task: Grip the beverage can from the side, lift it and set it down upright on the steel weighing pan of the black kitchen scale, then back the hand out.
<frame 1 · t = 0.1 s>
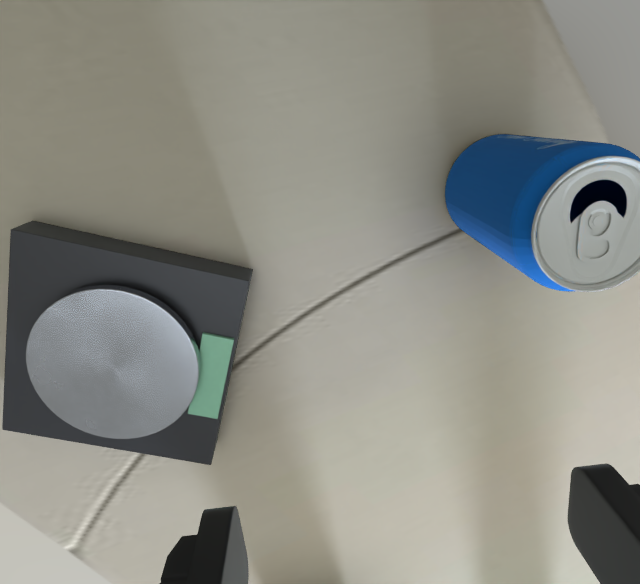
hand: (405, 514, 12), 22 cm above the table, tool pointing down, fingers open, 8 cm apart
scale pan: (115, 365, 31), point 3 cm above the table, slide at 0.0 cm
beverage can: (490, 186, 32), on the table
scale: (132, 341, 34), on the table
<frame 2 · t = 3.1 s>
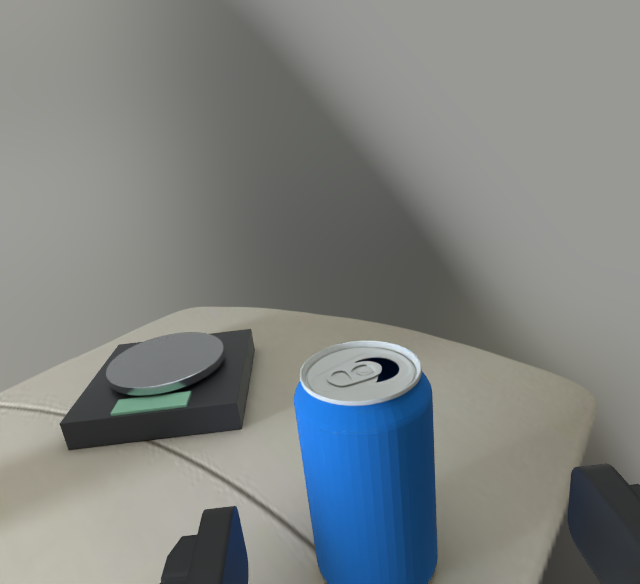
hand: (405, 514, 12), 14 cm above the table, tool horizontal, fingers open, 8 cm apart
scale pan: (167, 360, 45), point 3 cm above the table, slide at 0.0 cm
beverage can: (377, 562, 27), on the table
scale: (174, 392, 46), on the table
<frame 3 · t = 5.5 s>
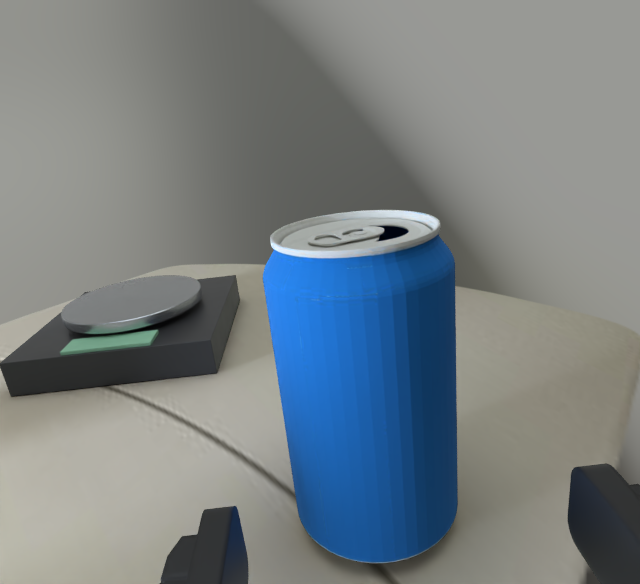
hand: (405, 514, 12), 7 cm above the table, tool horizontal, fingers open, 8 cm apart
scale pan: (134, 301, 39), point 3 cm above the table, slide at 0.0 cm
beverage can: (377, 514, 21), on the table
scale: (144, 340, 40), on the table
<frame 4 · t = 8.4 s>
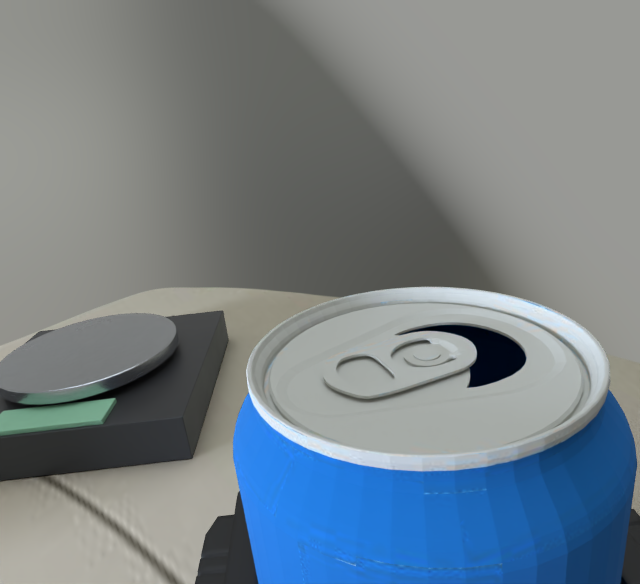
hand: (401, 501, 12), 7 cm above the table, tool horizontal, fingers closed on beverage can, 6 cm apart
scale pan: (91, 352, 30), point 3 cm above the table, slide at 0.0 cm
scale: (105, 399, 32), on the table
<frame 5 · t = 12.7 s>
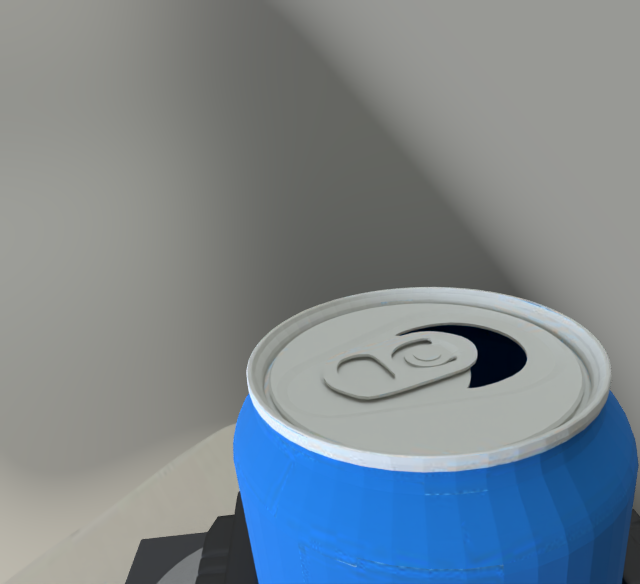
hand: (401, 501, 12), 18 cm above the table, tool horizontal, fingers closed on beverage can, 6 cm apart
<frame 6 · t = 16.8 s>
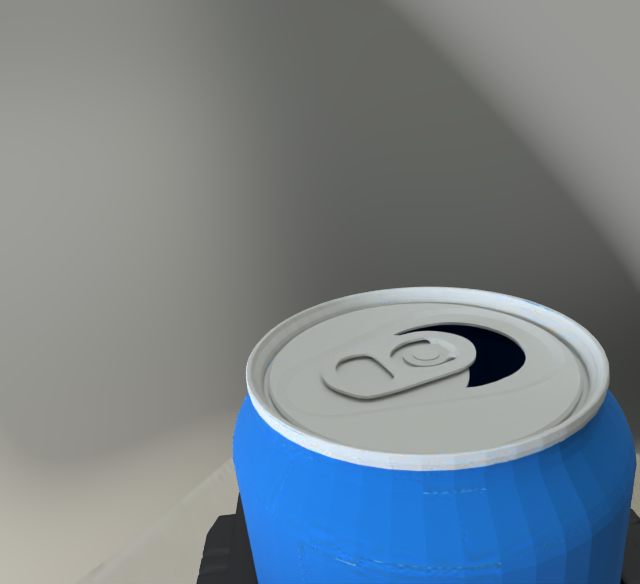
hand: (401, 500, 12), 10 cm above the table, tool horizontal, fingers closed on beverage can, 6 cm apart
when the fingers open (10 cm above the table, at t = 17.1 s): beverage can stays where it is, resting on scale pan.
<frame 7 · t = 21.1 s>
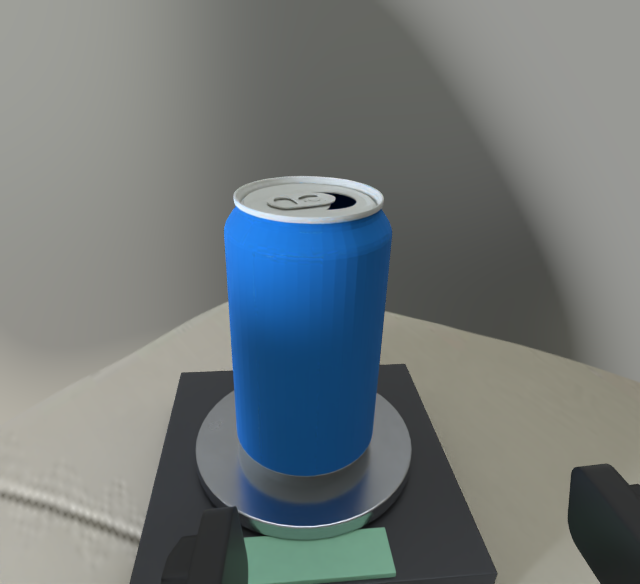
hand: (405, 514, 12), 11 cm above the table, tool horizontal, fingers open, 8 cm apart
scale pan: (304, 440, 24), point 3 cm above the table, slide at -0.3 cm, touching beverage can, scale
beverage can: (305, 439, 24), point 3 cm above the table, touching scale pan
scale: (303, 486, 26), on the table
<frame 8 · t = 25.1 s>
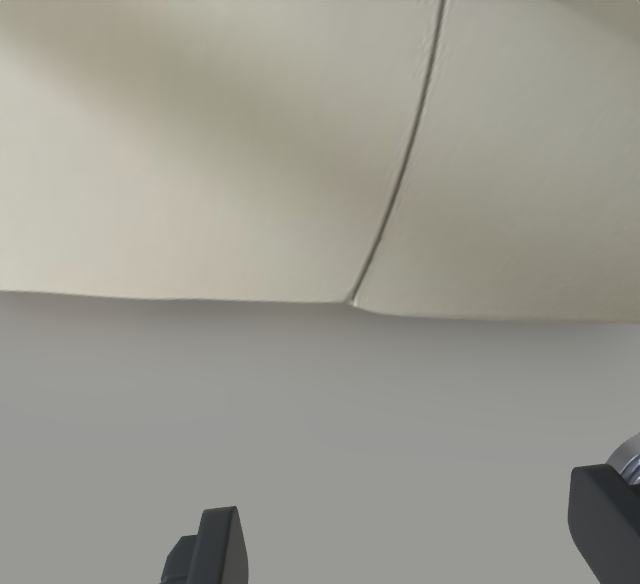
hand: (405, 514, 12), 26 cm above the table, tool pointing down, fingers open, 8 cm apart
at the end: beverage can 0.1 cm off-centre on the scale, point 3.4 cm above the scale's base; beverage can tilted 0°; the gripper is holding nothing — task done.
